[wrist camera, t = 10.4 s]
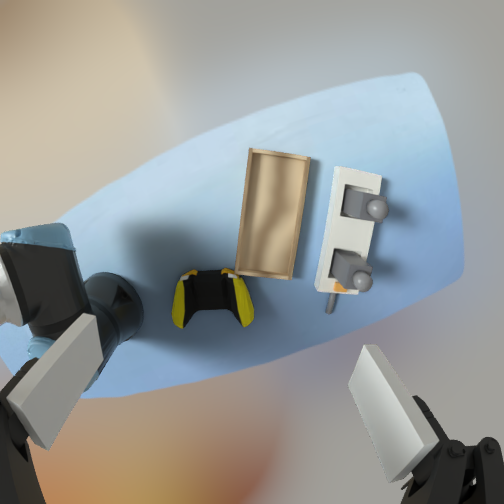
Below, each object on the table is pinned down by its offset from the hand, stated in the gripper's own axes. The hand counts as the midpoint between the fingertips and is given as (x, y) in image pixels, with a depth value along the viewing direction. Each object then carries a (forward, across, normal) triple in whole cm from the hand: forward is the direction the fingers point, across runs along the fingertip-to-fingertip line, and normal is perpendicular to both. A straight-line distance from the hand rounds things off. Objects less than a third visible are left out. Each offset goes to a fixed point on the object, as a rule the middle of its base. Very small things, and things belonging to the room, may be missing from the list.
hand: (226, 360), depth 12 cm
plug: (+36, +19, +6) cm, 41 cm away
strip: (+37, +19, -2) cm, 41 cm away
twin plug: (+36, +19, -4) cm, 41 cm away
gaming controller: (+37, -4, -14) cm, 40 cm away
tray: (+37, +5, +2) cm, 37 cm away
